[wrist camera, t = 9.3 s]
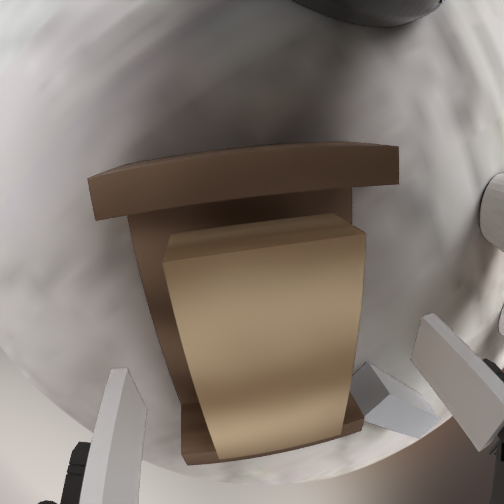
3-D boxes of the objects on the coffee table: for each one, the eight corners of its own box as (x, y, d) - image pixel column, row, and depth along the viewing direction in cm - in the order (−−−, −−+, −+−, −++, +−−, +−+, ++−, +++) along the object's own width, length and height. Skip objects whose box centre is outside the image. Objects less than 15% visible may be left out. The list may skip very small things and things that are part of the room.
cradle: (123, 164, 15) (87, 178, 10) (342, 141, 16) (398, 146, 11) (186, 407, 21) (187, 465, 16) (334, 381, 23) (361, 430, 18)
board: (170, 234, 12) (162, 262, 10) (333, 213, 13) (366, 233, 10) (214, 420, 17) (219, 459, 14) (324, 399, 18) (340, 434, 15)
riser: (341, 385, 23) (360, 419, 19) (367, 361, 22) (390, 393, 19) (402, 413, 27) (419, 438, 23) (422, 395, 27) (440, 419, 23)
